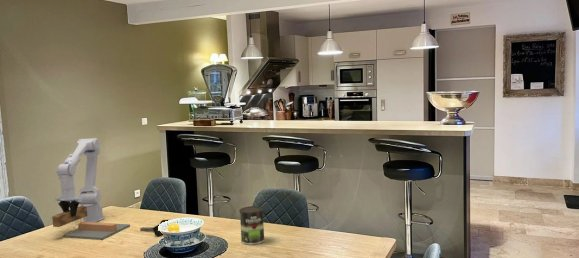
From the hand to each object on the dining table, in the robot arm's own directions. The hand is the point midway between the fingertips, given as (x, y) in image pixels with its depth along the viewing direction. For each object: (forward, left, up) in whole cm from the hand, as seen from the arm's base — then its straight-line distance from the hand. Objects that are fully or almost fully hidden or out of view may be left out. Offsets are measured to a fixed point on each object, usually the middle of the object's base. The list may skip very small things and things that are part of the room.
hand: (70, 215), depth 215 cm
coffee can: (-6, +92, -9) cm, 93 cm away
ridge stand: (-5, +11, -9) cm, 15 cm away
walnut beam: (0, 0, -3) cm, 3 cm away
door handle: (-13, +41, -9) cm, 43 cm away
